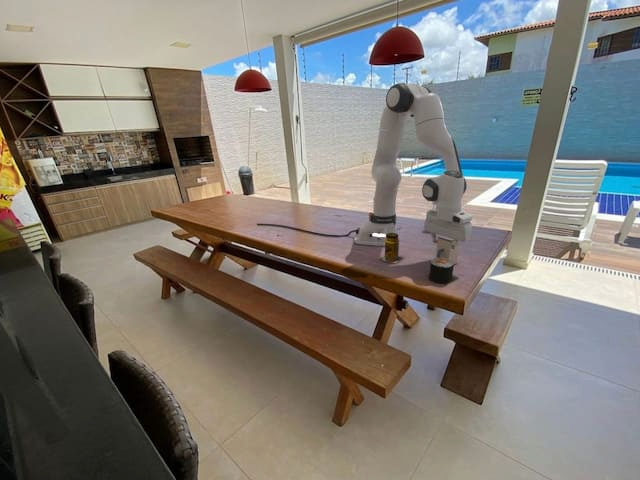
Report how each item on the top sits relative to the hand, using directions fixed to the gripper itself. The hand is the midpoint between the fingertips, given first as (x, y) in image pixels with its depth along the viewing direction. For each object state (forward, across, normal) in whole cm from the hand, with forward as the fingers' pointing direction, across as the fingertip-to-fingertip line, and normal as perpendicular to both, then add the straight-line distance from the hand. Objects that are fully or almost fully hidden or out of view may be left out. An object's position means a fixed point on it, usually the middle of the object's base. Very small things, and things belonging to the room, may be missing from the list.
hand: (444, 245), depth 128 cm
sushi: (+9, +8, -11) cm, 16 cm away
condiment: (+9, -18, -12) cm, 23 cm away
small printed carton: (+3, 0, +6) cm, 6 cm away
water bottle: (+9, -33, +39) cm, 52 cm away
